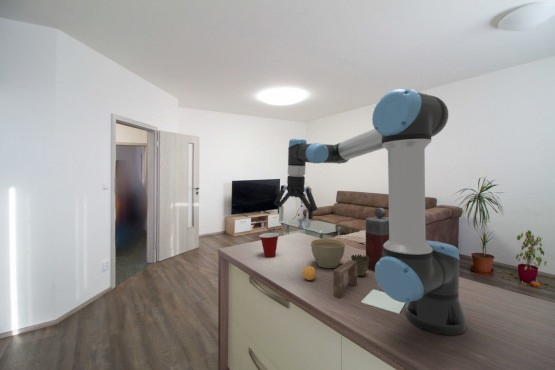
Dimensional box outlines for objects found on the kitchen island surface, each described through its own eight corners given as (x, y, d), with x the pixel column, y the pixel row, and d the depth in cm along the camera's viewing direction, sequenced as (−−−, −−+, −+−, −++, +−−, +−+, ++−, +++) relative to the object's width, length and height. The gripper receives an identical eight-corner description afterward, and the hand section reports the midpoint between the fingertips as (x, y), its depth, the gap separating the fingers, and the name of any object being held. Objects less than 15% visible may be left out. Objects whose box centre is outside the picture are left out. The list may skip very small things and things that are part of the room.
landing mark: (408, 299, 88) (408, 298, 88) (399, 314, 79) (399, 313, 79) (372, 289, 96) (372, 289, 96) (360, 302, 86) (360, 301, 86)
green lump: (370, 279, 105) (370, 260, 105) (352, 277, 107) (352, 259, 107) (368, 272, 113) (367, 254, 112) (350, 271, 114) (350, 253, 114)
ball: (318, 278, 106) (318, 266, 106) (311, 283, 102) (311, 269, 102) (307, 275, 110) (307, 263, 110) (300, 280, 106) (300, 267, 105)
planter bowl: (344, 272, 113) (343, 248, 112) (308, 269, 118) (307, 245, 117) (346, 261, 128) (346, 239, 127) (314, 258, 133) (314, 237, 133)
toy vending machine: (398, 269, 116) (398, 207, 115) (382, 274, 110) (382, 209, 109) (381, 263, 123) (380, 206, 122) (365, 268, 118) (365, 207, 117)
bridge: (357, 284, 101) (357, 261, 100) (341, 298, 89) (341, 272, 89) (350, 282, 103) (349, 259, 102) (333, 296, 91) (333, 270, 91)
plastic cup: (267, 251, 146) (267, 231, 145) (283, 255, 139) (283, 233, 139) (255, 256, 137) (255, 234, 137) (271, 260, 131) (271, 237, 130)
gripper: (326, 177, 106) (323, 226, 109) (276, 173, 119) (275, 217, 122) (319, 178, 100) (316, 230, 102) (267, 173, 113) (265, 220, 116)
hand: (294, 223), depth 112 cm, fingers open, 13 cm apart
